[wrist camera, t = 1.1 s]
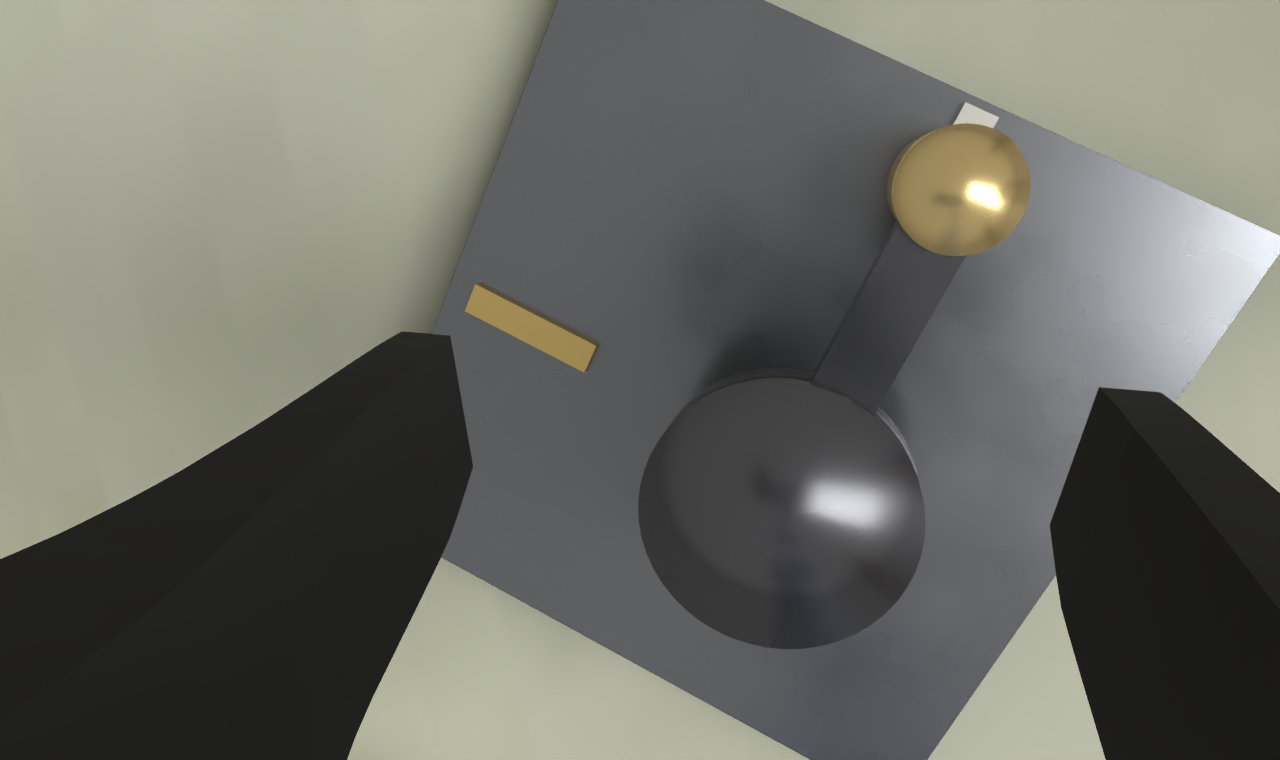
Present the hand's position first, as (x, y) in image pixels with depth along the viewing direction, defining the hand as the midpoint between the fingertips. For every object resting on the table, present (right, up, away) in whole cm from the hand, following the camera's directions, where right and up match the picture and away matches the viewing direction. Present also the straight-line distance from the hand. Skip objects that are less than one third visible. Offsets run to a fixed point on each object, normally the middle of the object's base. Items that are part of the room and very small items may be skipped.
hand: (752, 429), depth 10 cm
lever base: (+2, 0, +13) cm, 13 cm away
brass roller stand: (+3, +1, +11) cm, 11 cm away
